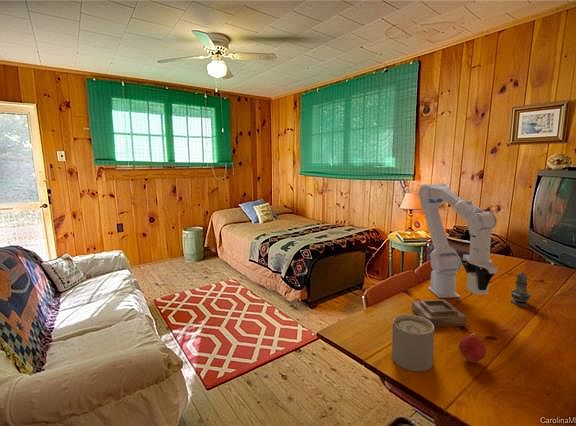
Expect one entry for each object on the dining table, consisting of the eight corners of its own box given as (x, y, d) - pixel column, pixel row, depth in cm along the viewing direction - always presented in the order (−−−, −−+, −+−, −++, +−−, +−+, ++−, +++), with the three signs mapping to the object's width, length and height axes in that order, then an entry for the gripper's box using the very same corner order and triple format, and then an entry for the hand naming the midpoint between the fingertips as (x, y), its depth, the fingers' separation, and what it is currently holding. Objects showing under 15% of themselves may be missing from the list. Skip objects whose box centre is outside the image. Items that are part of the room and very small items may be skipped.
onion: (453, 355, 79) (454, 327, 78) (473, 353, 79) (475, 326, 78) (468, 370, 73) (470, 340, 72) (490, 368, 74) (492, 338, 72)
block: (466, 289, 103) (467, 272, 102) (479, 288, 103) (480, 272, 102) (474, 294, 99) (475, 277, 98) (488, 293, 99) (489, 276, 98)
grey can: (418, 377, 71) (419, 338, 70) (384, 356, 79) (384, 321, 78) (447, 356, 79) (449, 321, 77) (413, 339, 87) (414, 307, 85)
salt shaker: (534, 307, 104) (537, 274, 102) (515, 306, 105) (517, 273, 103) (524, 299, 109) (527, 268, 108) (506, 299, 110) (508, 268, 109)
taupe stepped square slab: (411, 309, 105) (412, 298, 104) (445, 308, 105) (446, 297, 104) (428, 327, 93) (428, 314, 92) (466, 325, 93) (466, 313, 92)
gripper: (507, 253, 92) (504, 295, 93) (477, 242, 106) (475, 278, 108) (485, 254, 91) (482, 296, 93) (458, 243, 106) (456, 279, 108)
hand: (477, 286), depth 101 cm, fingers closed on block, 4 cm apart
